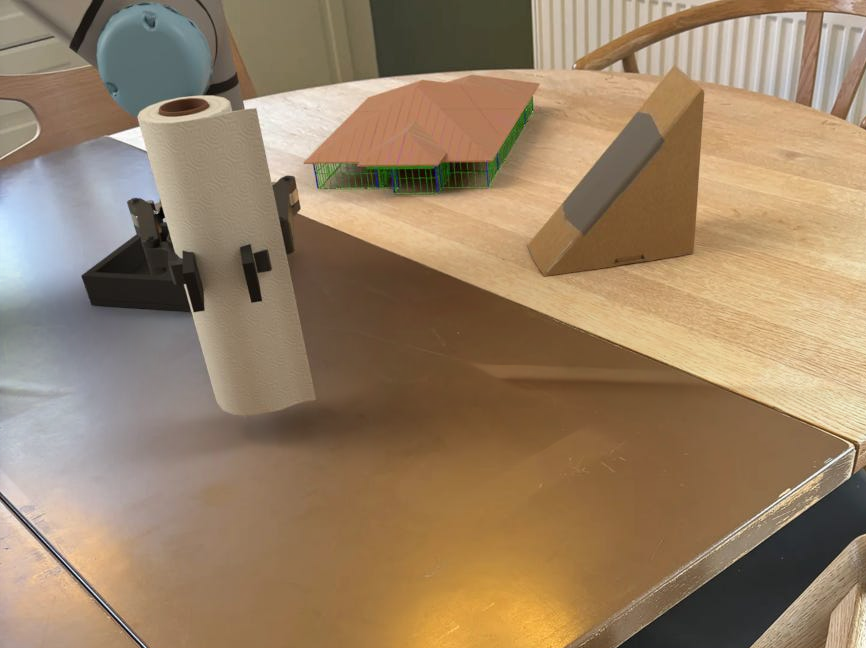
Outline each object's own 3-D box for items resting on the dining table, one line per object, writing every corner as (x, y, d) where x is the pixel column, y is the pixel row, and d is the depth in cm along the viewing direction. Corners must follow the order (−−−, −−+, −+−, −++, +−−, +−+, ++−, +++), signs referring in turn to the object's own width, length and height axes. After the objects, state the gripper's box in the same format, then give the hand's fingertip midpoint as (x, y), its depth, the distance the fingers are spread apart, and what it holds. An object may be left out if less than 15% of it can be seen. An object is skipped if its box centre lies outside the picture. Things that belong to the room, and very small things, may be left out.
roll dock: (91, 305, 103) (80, 275, 100) (161, 249, 112) (153, 221, 110) (213, 313, 99) (204, 282, 97) (275, 254, 108) (268, 225, 106)
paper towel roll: (203, 400, 81) (119, 108, 66) (268, 372, 84) (201, 86, 69) (250, 432, 77) (171, 128, 62) (316, 402, 79) (256, 104, 65)
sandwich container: (524, 244, 105) (516, 85, 95) (668, 223, 106) (675, 63, 96) (542, 277, 99) (535, 110, 89) (694, 254, 100) (705, 86, 90)
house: (300, 199, 120) (286, 125, 115) (381, 113, 143) (372, 48, 138) (488, 199, 115) (483, 122, 110) (540, 109, 138) (538, 42, 133)
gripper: (316, 207, 89) (351, 320, 72) (128, 236, 87) (118, 359, 70) (300, 114, 84) (333, 212, 67) (99, 143, 82) (81, 251, 65)
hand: (223, 287), depth 68 cm, fingers closed on paper towel roll, 3 cm apart
